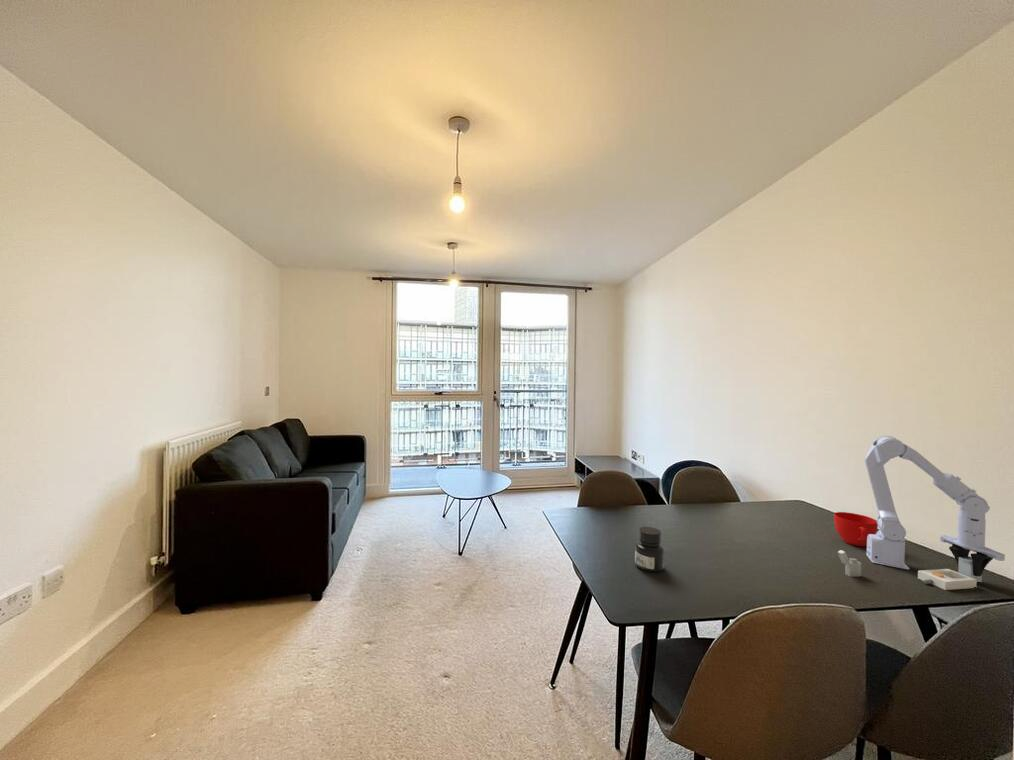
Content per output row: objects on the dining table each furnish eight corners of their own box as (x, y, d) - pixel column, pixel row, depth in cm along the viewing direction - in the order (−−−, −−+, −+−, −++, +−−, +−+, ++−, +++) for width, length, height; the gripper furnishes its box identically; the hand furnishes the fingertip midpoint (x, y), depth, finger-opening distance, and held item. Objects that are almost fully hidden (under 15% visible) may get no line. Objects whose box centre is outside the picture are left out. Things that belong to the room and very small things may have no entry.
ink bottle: (628, 561, 133) (629, 526, 133) (649, 558, 136) (650, 523, 136) (648, 575, 124) (649, 537, 124) (670, 571, 127) (671, 534, 127)
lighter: (856, 573, 129) (856, 549, 129) (861, 576, 127) (862, 551, 127) (836, 574, 128) (837, 549, 128) (841, 576, 126) (842, 552, 126)
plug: (970, 583, 125) (970, 561, 124) (958, 578, 127) (958, 557, 127) (981, 582, 125) (982, 560, 125) (969, 577, 128) (969, 556, 128)
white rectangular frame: (938, 590, 119) (939, 580, 119) (911, 578, 126) (912, 569, 126) (976, 587, 122) (976, 577, 122) (947, 576, 129) (948, 566, 129)
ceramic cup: (841, 549, 148) (842, 522, 148) (829, 533, 163) (830, 509, 163) (887, 557, 142) (887, 529, 142) (870, 540, 157) (871, 515, 157)
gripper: (1013, 539, 120) (1011, 583, 120) (952, 522, 134) (951, 561, 134) (995, 540, 119) (993, 585, 119) (935, 522, 133) (934, 562, 133)
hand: (969, 572), depth 126 cm, fingers closed on plug, 3 cm apart
